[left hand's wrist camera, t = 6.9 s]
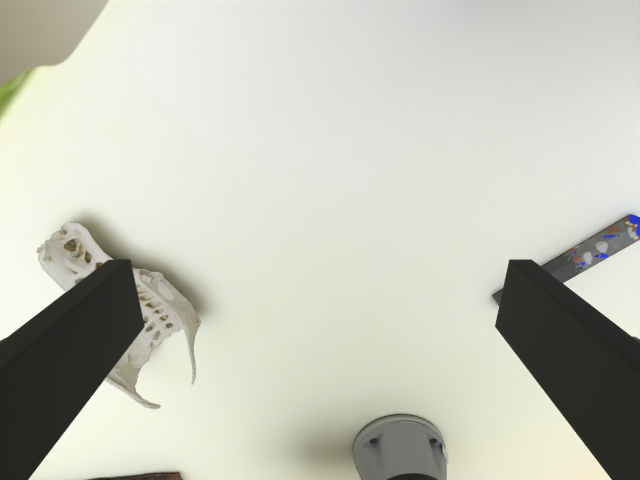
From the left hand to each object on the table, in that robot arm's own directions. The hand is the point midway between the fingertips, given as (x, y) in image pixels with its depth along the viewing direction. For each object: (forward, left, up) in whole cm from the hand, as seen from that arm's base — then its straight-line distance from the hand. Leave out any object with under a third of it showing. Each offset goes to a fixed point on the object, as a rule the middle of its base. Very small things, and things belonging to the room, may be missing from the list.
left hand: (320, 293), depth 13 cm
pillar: (-14, -33, -33) cm, 48 cm away
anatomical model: (-19, +26, -33) cm, 46 cm away
